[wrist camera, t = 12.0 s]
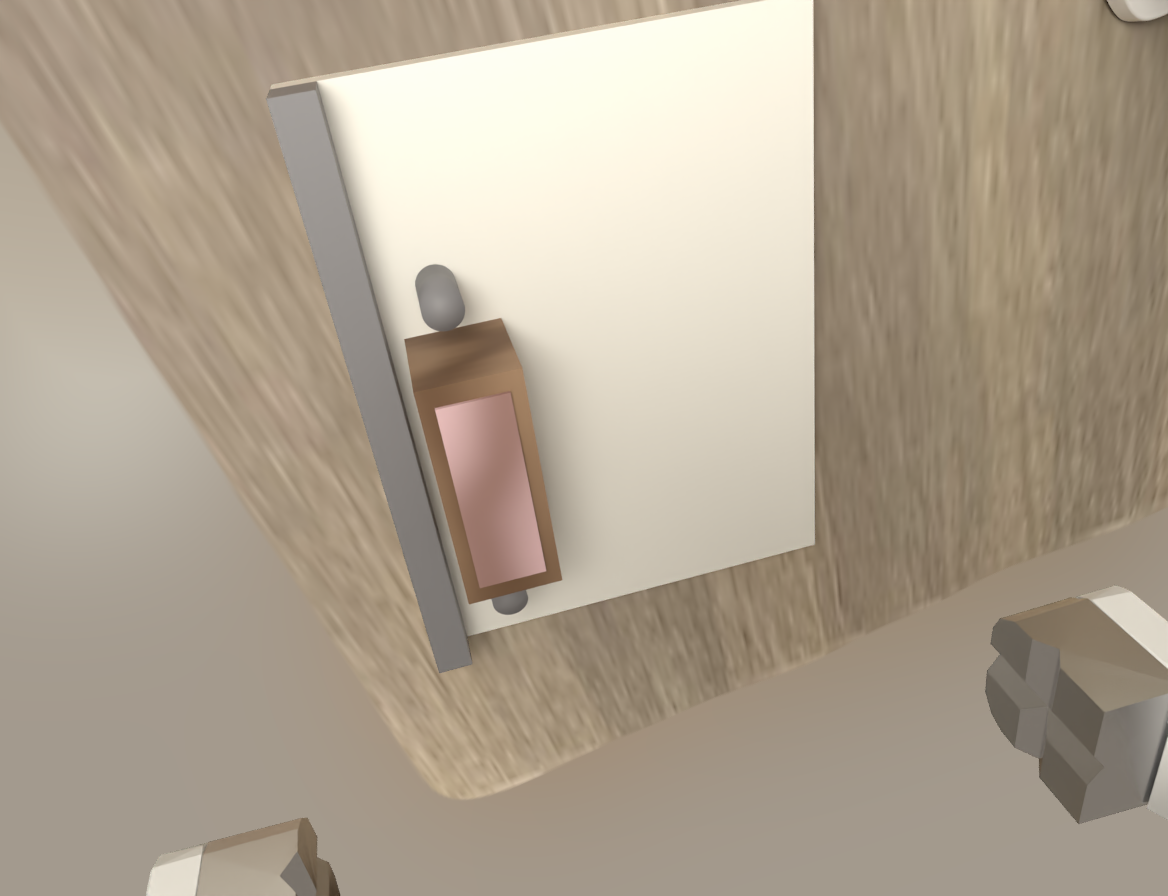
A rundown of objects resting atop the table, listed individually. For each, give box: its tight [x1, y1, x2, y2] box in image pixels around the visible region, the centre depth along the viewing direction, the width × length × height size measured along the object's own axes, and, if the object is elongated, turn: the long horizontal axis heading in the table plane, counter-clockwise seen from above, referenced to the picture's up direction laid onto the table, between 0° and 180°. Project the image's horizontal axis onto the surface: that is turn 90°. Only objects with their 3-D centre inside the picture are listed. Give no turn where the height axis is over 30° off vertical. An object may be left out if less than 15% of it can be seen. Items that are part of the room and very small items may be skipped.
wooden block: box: [404, 318, 562, 604], centre depth 37 cm, size 4×10×5 cm, turn 8°
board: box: [266, 0, 815, 673], centre depth 39 cm, size 20×26×4 cm
